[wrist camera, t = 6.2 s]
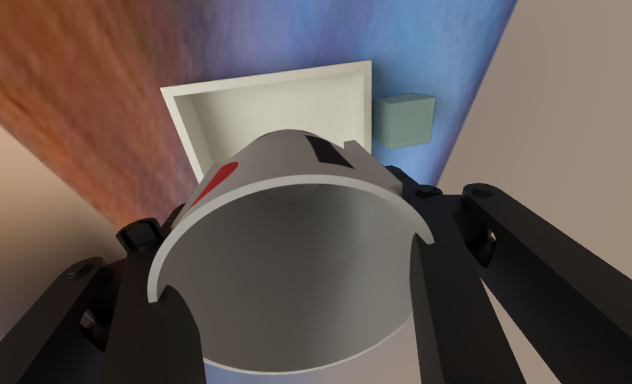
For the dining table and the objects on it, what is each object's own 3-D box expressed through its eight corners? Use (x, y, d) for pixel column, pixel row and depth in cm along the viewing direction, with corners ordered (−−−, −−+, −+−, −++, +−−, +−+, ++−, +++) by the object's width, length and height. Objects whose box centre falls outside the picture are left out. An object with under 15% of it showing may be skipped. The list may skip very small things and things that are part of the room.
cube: (373, 98, 29) (390, 104, 24) (411, 93, 29) (435, 97, 25) (373, 138, 31) (389, 149, 27) (408, 132, 32) (429, 142, 27)
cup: (329, 86, 13) (427, 119, 5) (359, 198, 17) (442, 329, 9) (199, 134, 14) (60, 252, 5) (258, 234, 18) (240, 398, 9)
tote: (180, 84, 25) (160, 88, 21) (356, 61, 26) (371, 60, 22) (236, 238, 35) (230, 262, 31) (359, 215, 37) (370, 235, 32)
